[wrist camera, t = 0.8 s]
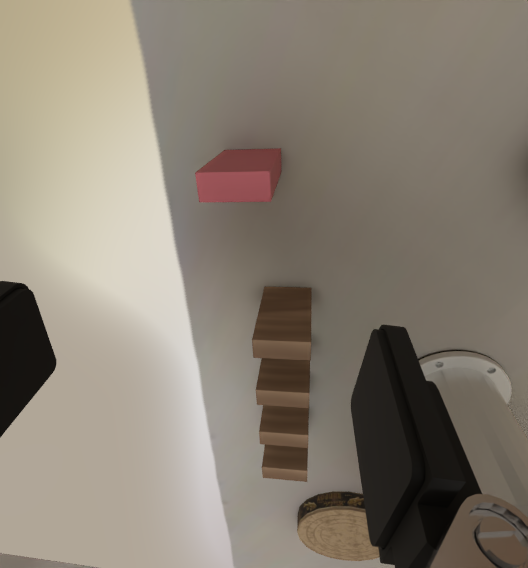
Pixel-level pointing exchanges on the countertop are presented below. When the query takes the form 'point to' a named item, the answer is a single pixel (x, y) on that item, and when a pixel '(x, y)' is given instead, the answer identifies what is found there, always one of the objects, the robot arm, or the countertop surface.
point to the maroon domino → (240, 176)
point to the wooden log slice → (336, 526)
